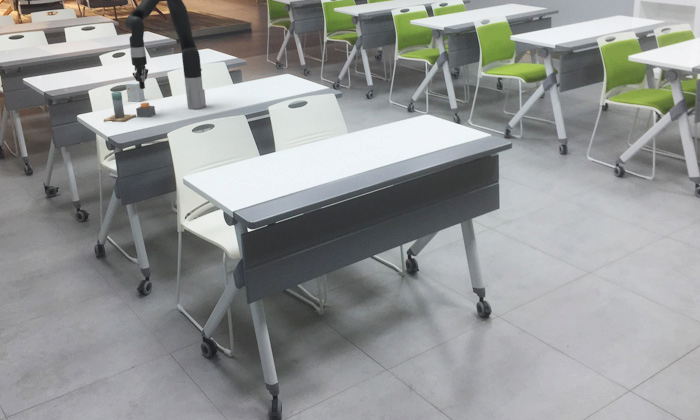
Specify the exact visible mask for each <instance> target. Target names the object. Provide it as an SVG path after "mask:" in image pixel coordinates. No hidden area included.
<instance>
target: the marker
mask: <svg viewBox="0 0 700 420" xmlns="http://www.w3.org/2000/svg"><path fill="white" fill-rule="evenodd" d="M111 99H112V105H113V112H114V115H115V118H123V117H125V116H124V115H125V110H124V104H123V95H122V91H113V92H111Z"/></svg>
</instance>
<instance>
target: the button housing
mask: <svg viewBox="0 0 700 420" xmlns="http://www.w3.org/2000/svg"><path fill="white" fill-rule="evenodd" d="M154 115H156V106H155V105H149V108H141V106H139V107H137V108H136V117H137V118H151V117H153V116H154Z"/></svg>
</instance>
